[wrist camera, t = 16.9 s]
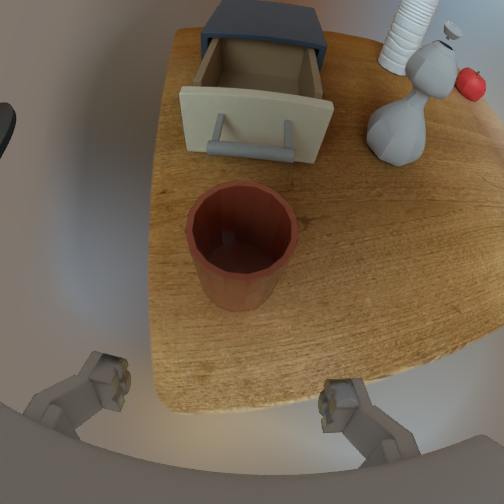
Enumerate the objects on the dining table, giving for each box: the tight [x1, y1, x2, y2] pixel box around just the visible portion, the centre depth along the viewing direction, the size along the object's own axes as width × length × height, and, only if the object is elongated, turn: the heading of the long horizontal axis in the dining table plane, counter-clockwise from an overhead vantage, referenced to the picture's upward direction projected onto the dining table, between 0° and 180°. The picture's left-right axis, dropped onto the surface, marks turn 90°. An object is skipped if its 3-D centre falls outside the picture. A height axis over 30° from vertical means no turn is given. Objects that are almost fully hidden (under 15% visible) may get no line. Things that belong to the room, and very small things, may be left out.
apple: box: [456, 68, 486, 101], centre depth 41 cm, size 8×8×8 cm
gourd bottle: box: [366, 21, 463, 167], centre depth 23 cm, size 8×8×20 cm
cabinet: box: [201, 0, 327, 74], centre depth 33 cm, size 17×15×10 cm
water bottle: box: [378, 0, 440, 76], centre depth 31 cm, size 9×6×25 cm
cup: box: [185, 180, 298, 312], centre depth 21 cm, size 6×6×9 cm
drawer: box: [179, 38, 334, 164], centre depth 27 cm, size 20×13×8 cm, turn 176°
